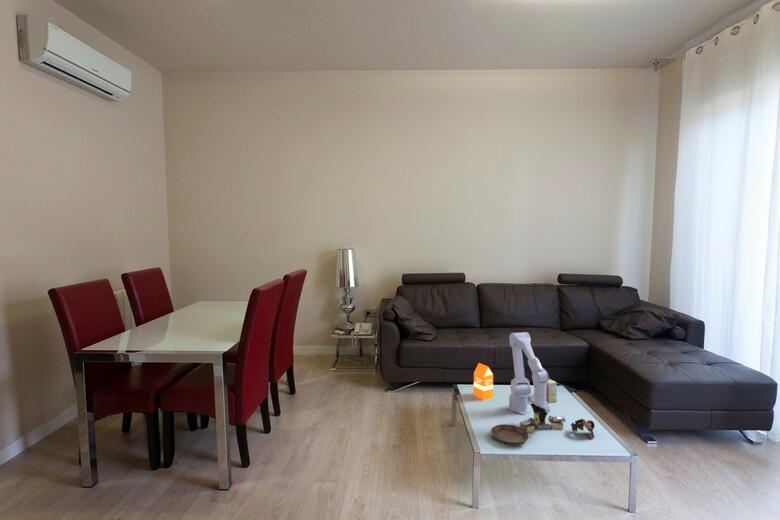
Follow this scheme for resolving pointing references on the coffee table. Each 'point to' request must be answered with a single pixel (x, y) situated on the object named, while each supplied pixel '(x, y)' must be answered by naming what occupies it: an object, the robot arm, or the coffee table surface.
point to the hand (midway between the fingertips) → (539, 420)
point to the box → (551, 391)
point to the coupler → (537, 419)
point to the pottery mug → (582, 423)
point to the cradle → (541, 426)
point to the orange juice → (483, 382)
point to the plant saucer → (510, 434)
